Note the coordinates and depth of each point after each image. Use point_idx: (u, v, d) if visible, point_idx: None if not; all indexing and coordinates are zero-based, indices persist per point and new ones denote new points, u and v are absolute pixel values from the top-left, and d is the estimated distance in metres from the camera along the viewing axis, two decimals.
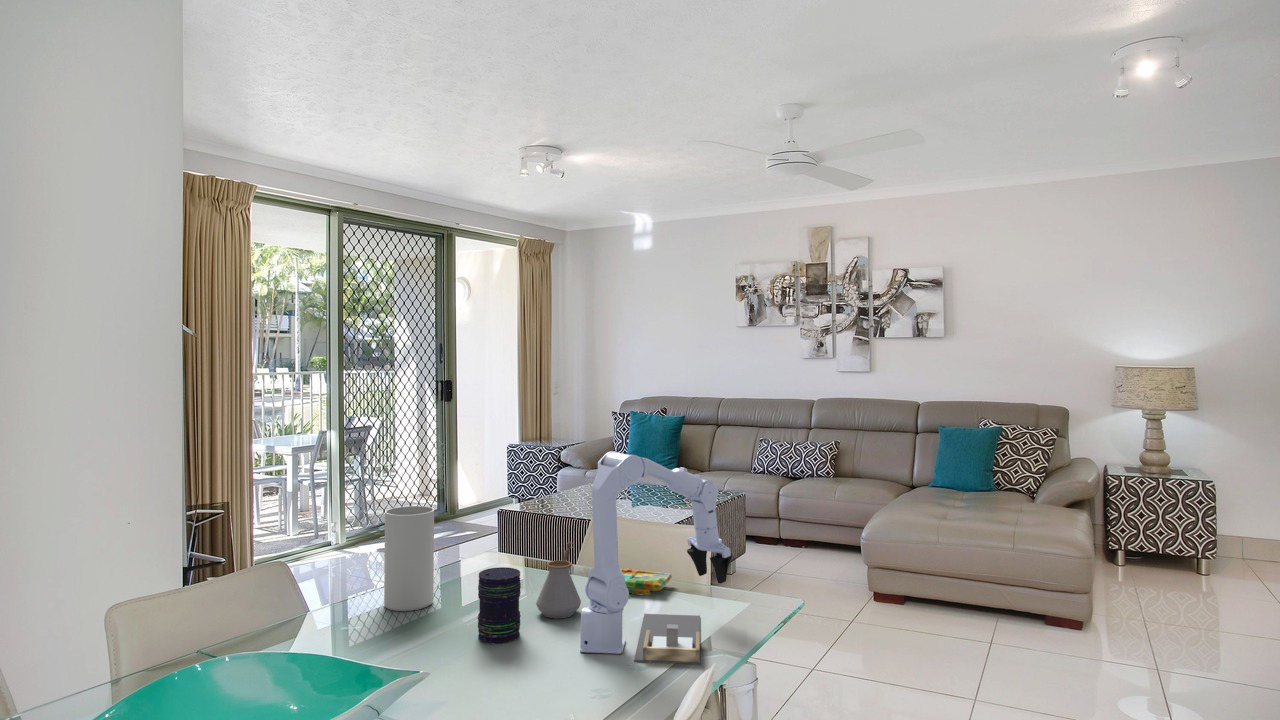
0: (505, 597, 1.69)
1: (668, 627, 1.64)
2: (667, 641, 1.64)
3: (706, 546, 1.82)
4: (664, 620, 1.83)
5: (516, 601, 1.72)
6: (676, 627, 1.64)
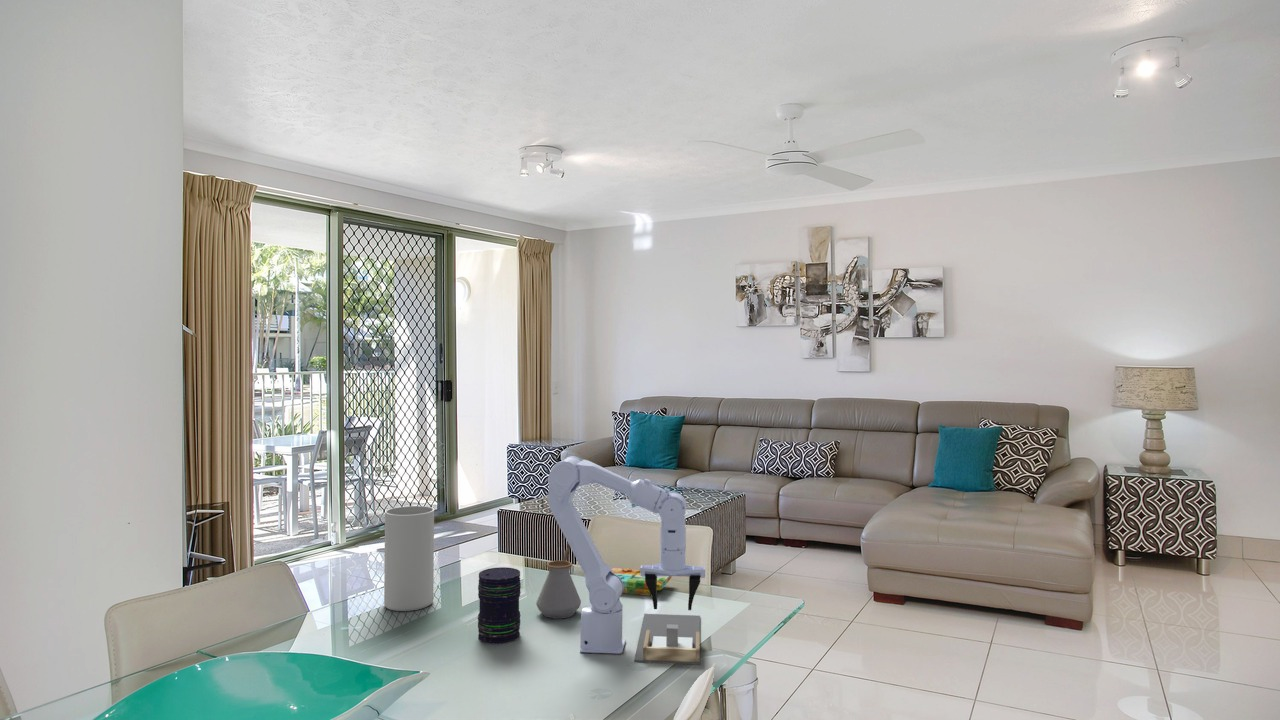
0: (505, 597, 1.69)
1: (668, 627, 1.64)
2: (667, 641, 1.64)
3: None
4: (664, 620, 1.83)
5: (516, 601, 1.72)
6: (676, 627, 1.64)
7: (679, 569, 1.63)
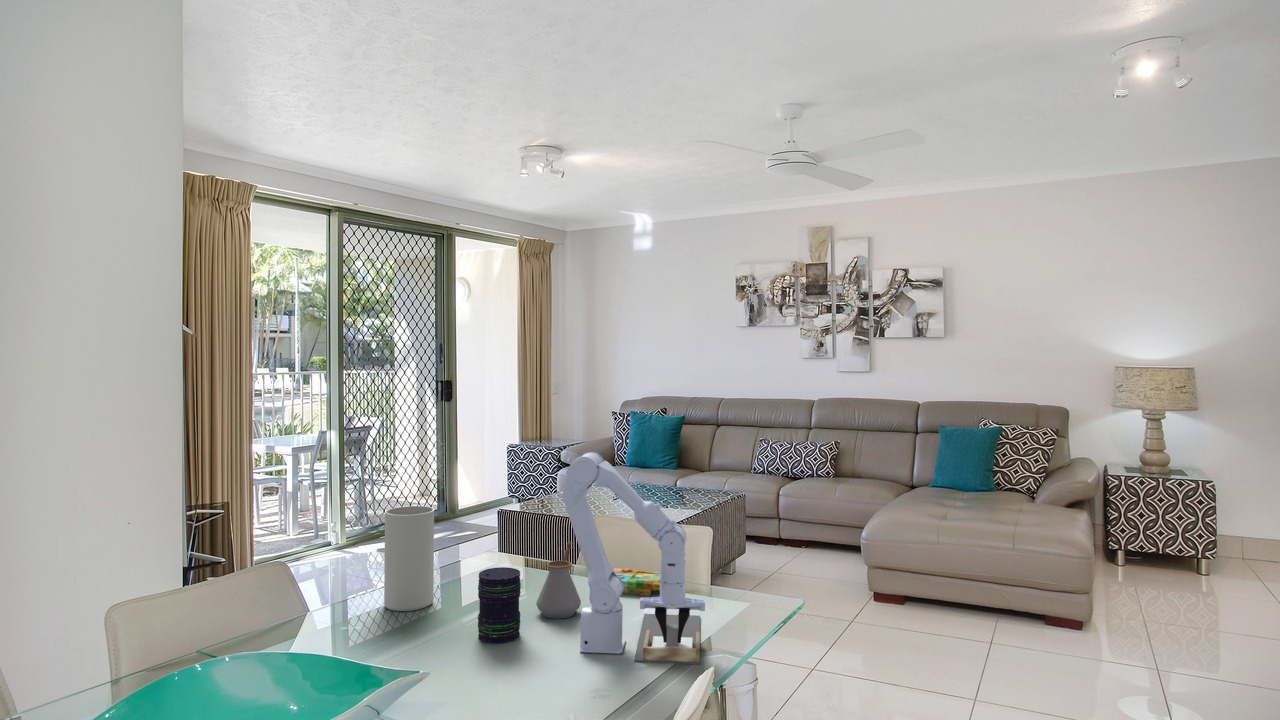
0: (505, 597, 1.69)
1: (668, 627, 1.64)
2: (667, 641, 1.64)
3: None
4: None
5: (516, 601, 1.72)
6: (676, 627, 1.64)
7: (679, 602, 1.62)
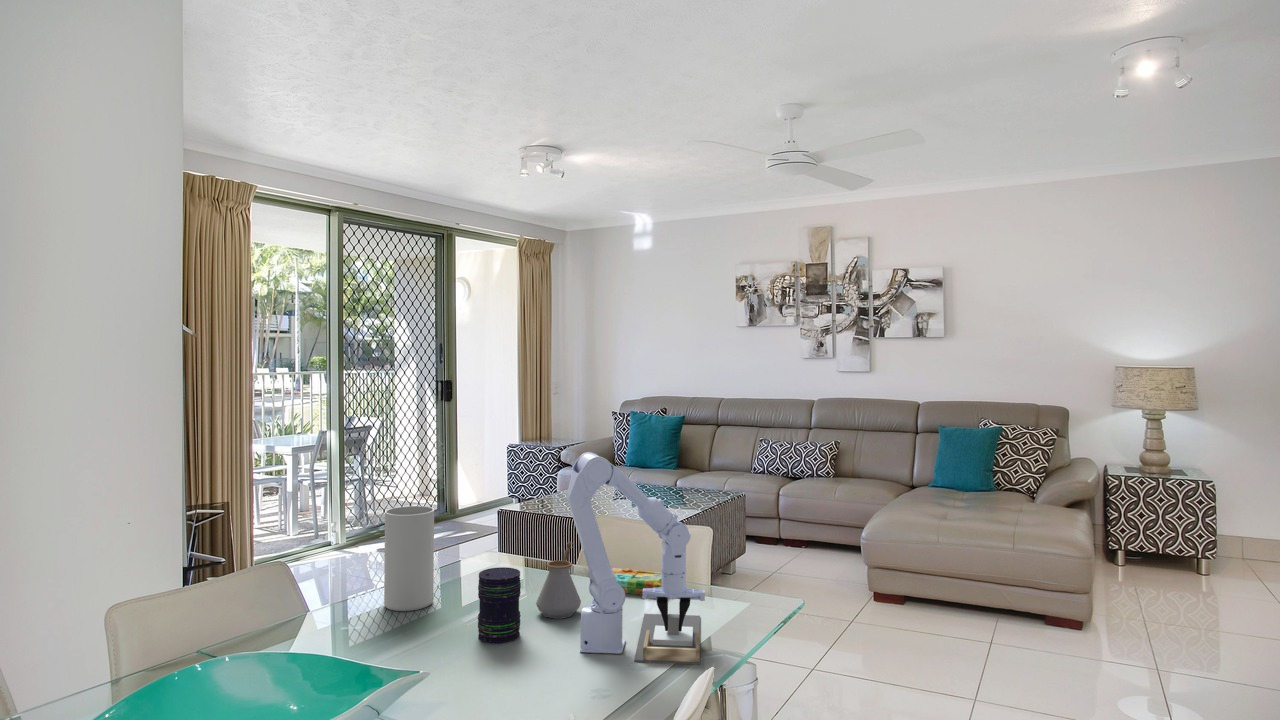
0: (505, 597, 1.69)
1: (669, 616, 1.71)
2: (668, 630, 1.71)
3: None
4: None
5: (516, 601, 1.72)
6: (677, 617, 1.71)
7: (680, 592, 1.70)
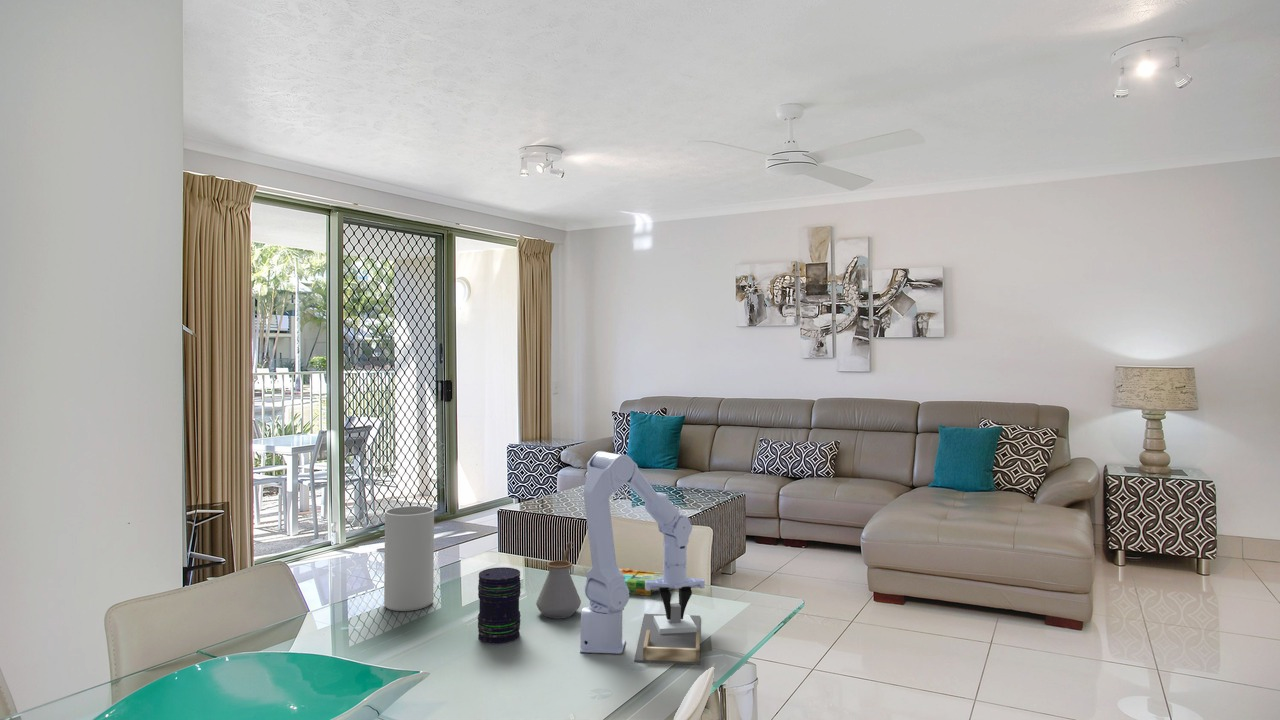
0: (505, 597, 1.69)
1: (672, 606, 1.79)
2: (671, 619, 1.78)
3: None
4: None
5: (516, 601, 1.72)
6: (679, 605, 1.79)
7: (683, 582, 1.78)
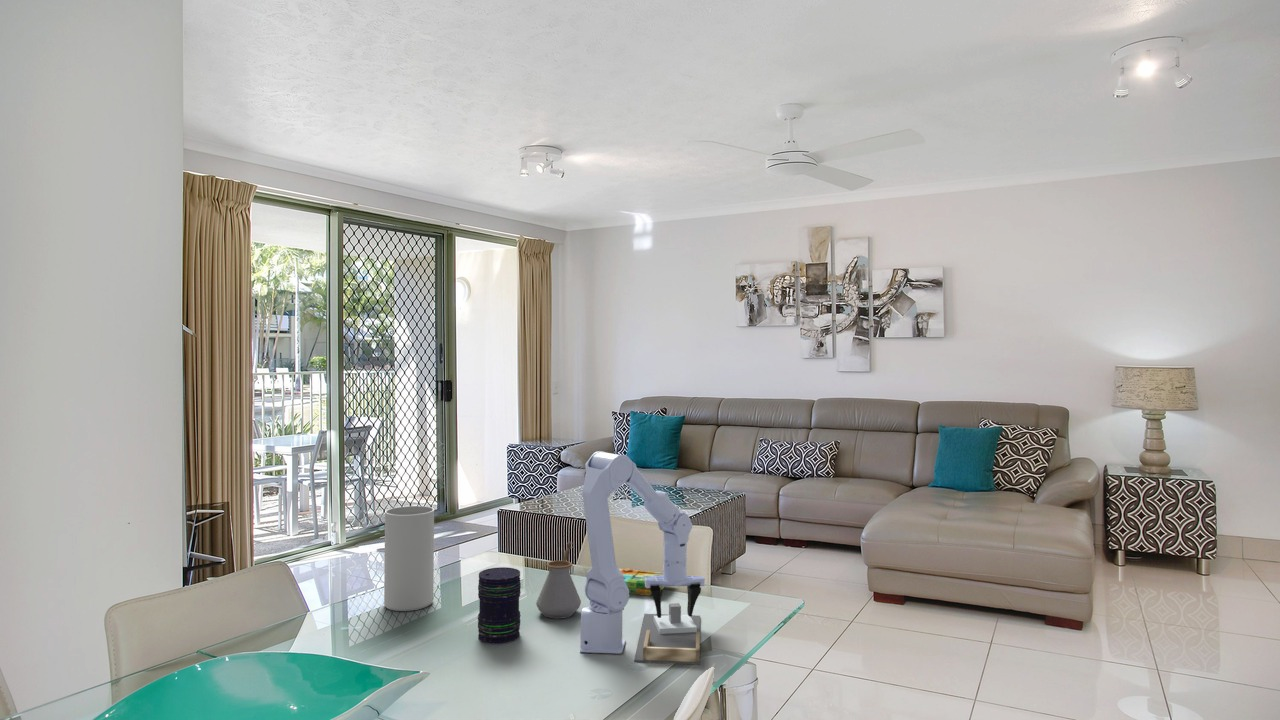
0: (505, 597, 1.69)
1: (672, 606, 1.79)
2: (671, 619, 1.78)
3: None
4: None
5: (516, 601, 1.72)
6: (679, 605, 1.79)
7: (682, 579, 1.78)
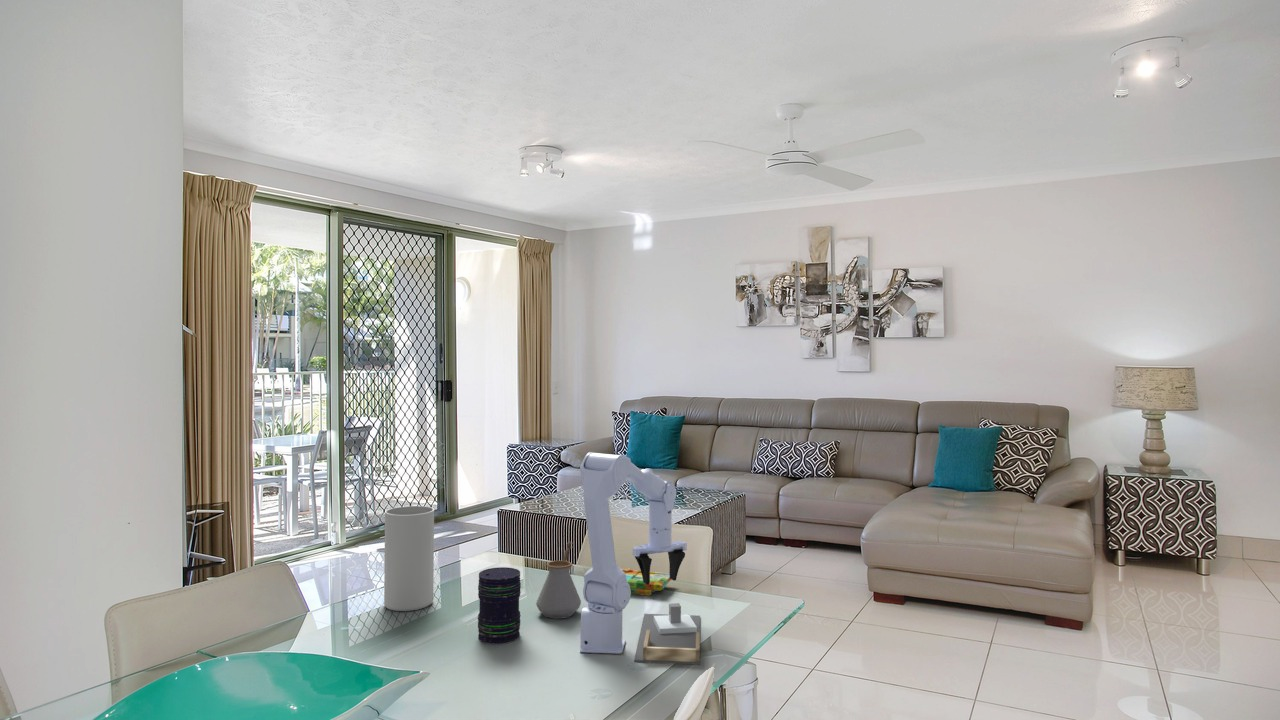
0: (505, 597, 1.69)
1: (672, 606, 1.79)
2: (671, 619, 1.78)
3: None
4: None
5: (516, 601, 1.72)
6: (679, 605, 1.79)
7: (670, 545, 1.85)
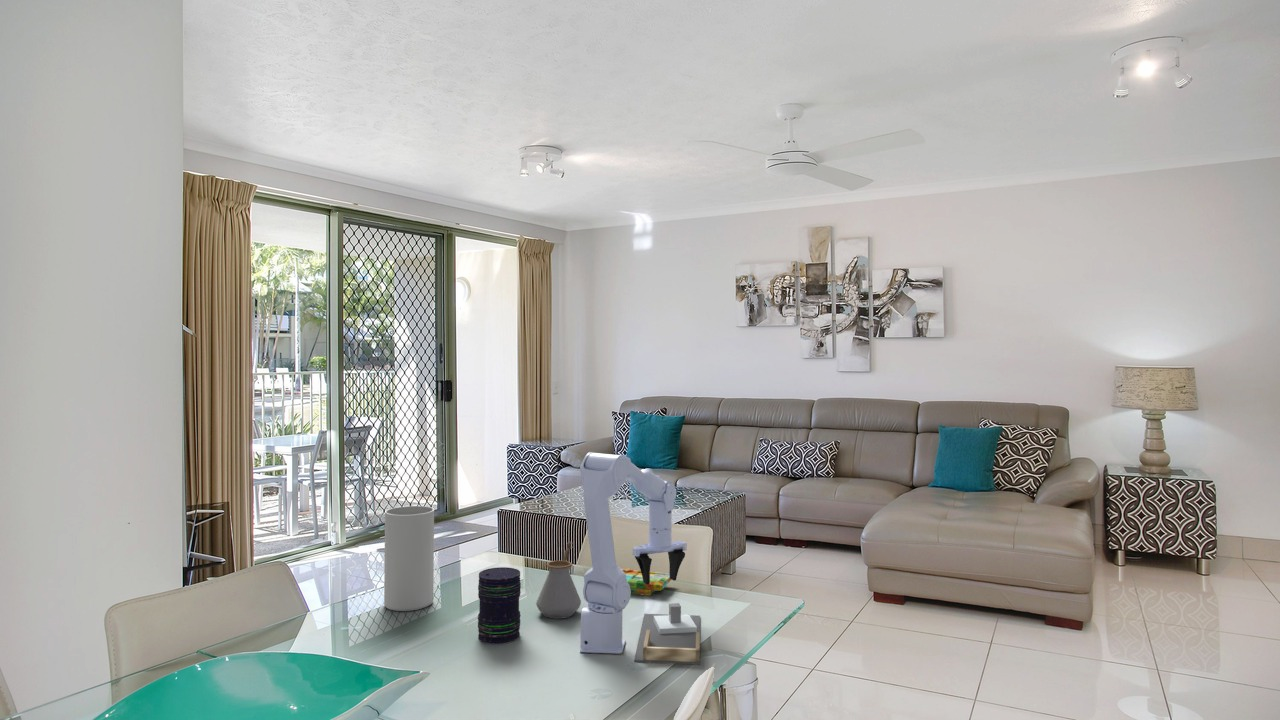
0: (505, 597, 1.69)
1: (672, 606, 1.79)
2: (671, 619, 1.78)
3: None
4: None
5: (516, 601, 1.72)
6: (679, 605, 1.79)
7: (670, 545, 1.85)
